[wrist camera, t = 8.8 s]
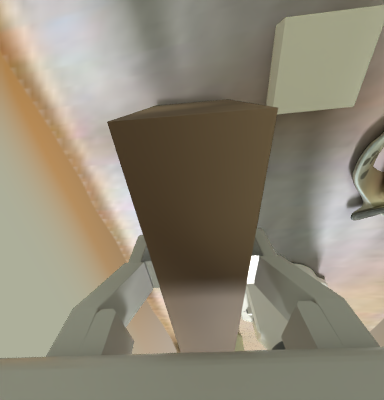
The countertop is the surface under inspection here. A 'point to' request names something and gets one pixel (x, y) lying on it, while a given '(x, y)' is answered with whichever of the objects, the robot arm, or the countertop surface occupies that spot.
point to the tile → (322, 58)
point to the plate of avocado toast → (369, 181)
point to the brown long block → (198, 207)
